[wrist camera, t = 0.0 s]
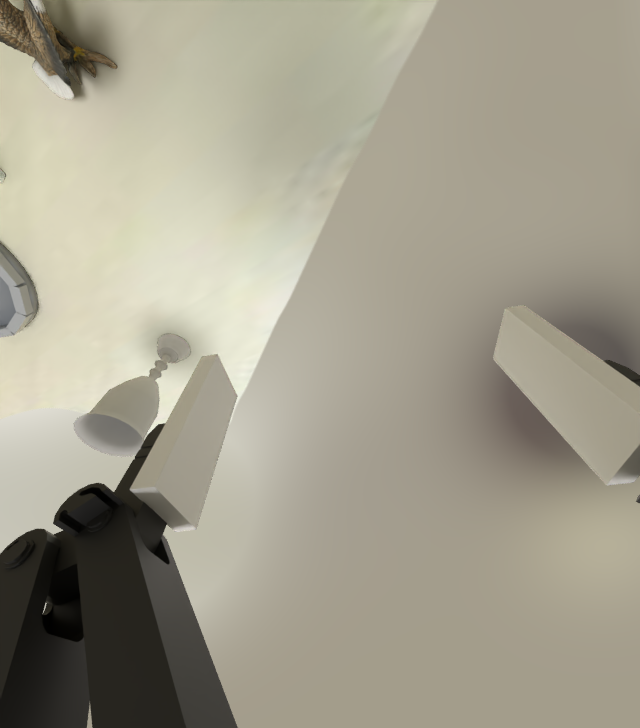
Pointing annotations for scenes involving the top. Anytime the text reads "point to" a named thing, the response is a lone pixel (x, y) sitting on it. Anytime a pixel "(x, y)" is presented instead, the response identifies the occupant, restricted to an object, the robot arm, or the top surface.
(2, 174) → the external hard drive
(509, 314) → the robot arm
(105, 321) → the top surface
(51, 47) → the eagle figurine
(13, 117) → the top surface
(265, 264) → the top surface
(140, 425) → the chalice
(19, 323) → the dish
